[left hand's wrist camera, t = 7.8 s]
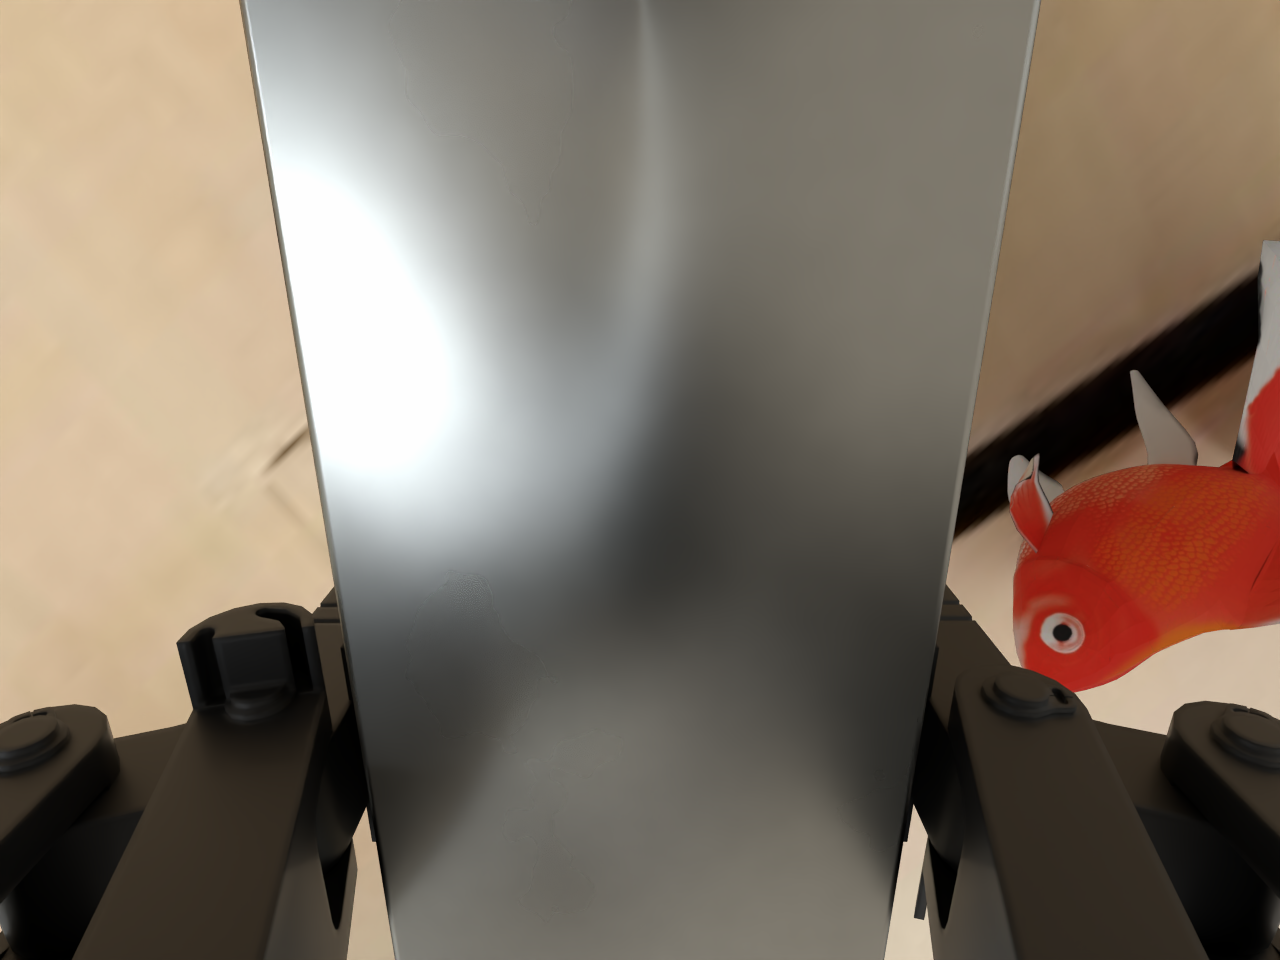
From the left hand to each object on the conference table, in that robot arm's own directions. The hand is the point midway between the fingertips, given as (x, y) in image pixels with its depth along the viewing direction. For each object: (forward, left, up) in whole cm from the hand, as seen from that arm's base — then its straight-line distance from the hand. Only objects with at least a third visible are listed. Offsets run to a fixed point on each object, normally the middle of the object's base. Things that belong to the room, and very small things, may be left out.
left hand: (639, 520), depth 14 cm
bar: (+7, 0, -1) cm, 7 cm away
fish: (0, -16, -10) cm, 18 cm away
